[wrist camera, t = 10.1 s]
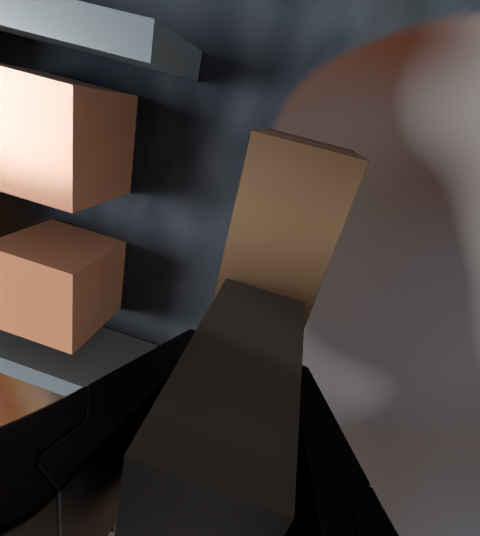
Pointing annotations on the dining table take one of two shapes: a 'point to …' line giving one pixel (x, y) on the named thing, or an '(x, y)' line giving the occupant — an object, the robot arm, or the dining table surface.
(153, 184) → the dining table surface
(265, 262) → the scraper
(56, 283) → the block
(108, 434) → the robot arm
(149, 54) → the box
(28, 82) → the block
